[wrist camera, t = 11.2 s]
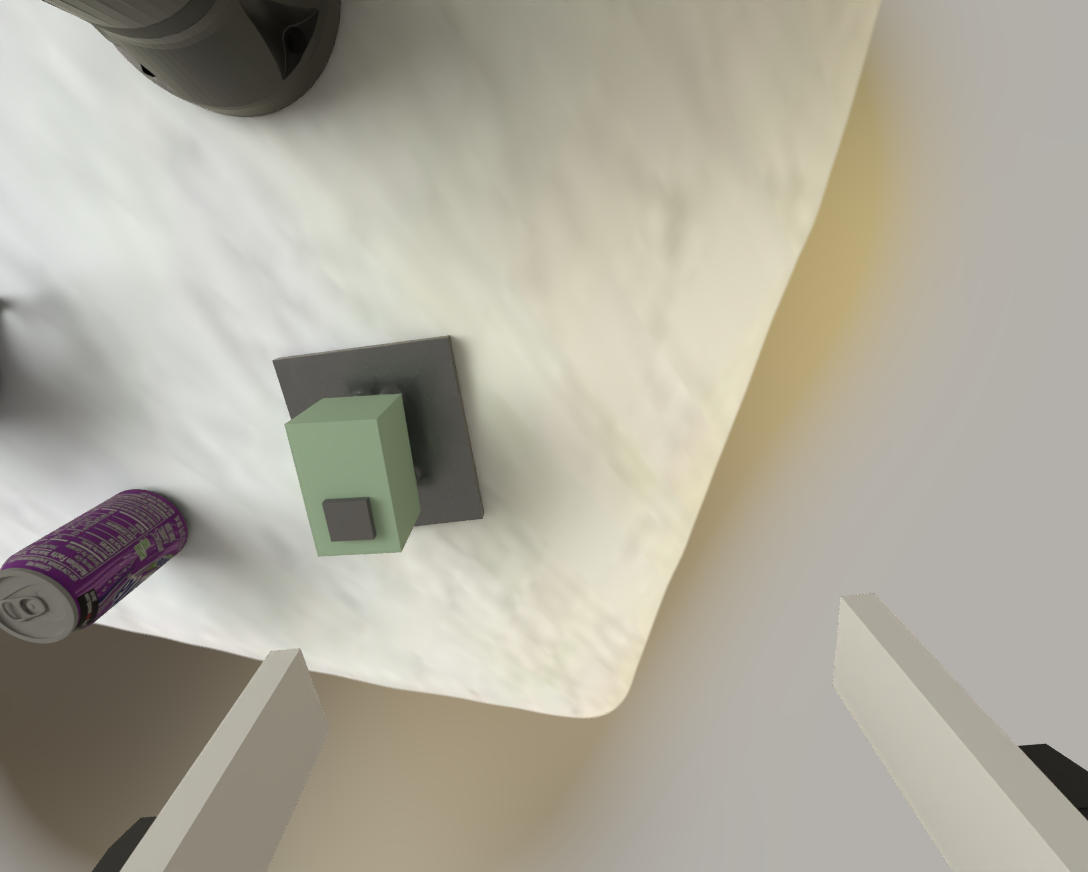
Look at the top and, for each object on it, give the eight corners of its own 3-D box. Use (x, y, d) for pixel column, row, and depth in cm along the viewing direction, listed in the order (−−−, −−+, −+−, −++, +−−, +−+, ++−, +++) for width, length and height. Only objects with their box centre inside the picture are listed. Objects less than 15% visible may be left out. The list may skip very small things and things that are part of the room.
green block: (322, 398, 39) (279, 427, 32) (401, 393, 38) (373, 422, 32) (348, 514, 42) (314, 561, 36) (420, 511, 42) (399, 556, 36)
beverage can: (137, 560, 48) (12, 656, 37) (98, 494, 46) (-50, 575, 34) (206, 545, 47) (100, 639, 36) (170, 478, 45) (44, 555, 34)
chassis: (278, 357, 41) (255, 367, 38) (449, 335, 40) (440, 343, 37) (332, 529, 47) (316, 551, 43) (483, 512, 46) (479, 533, 43)
